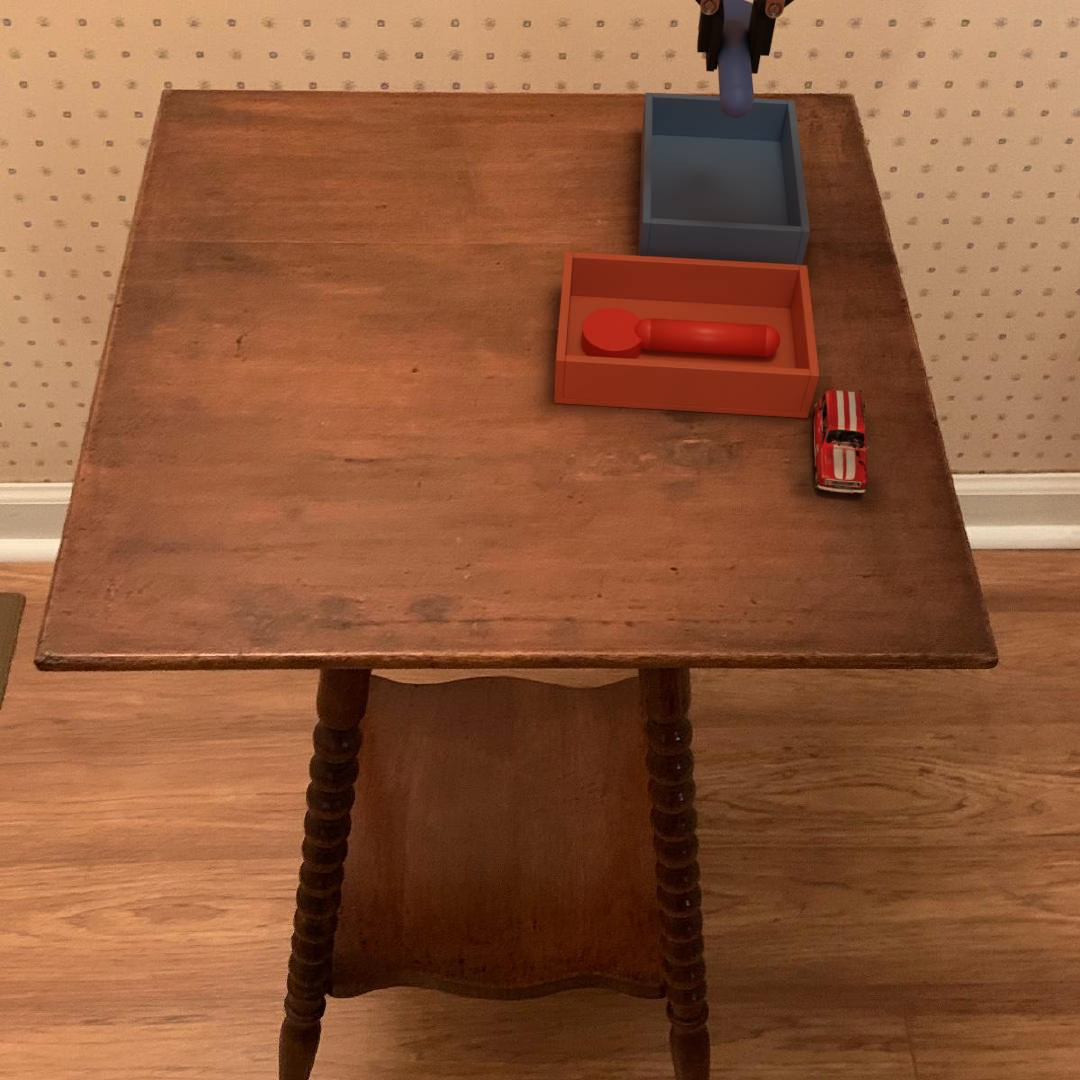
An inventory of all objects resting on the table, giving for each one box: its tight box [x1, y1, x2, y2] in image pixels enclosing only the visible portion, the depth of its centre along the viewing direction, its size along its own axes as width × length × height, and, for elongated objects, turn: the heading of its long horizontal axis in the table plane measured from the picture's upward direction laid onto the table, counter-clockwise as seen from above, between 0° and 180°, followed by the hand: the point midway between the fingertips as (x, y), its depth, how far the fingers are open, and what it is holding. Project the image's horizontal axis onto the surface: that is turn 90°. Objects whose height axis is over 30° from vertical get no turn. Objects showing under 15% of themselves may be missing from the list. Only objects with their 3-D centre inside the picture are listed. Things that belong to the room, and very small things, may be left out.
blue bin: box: [638, 92, 811, 265], centre depth 94 cm, size 12×17×4 cm
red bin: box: [553, 251, 820, 419], centre depth 83 cm, size 17×11×4 cm, turn 86°
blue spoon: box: [697, 0, 755, 118], centre depth 81 cm, size 14×4×2 cm, turn 176°
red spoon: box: [581, 308, 780, 359], centre depth 83 cm, size 14×4×2 cm, turn 86°
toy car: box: [812, 389, 872, 494], centre depth 77 cm, size 4×8×3 cm, turn 173°
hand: (731, 60), depth 82 cm, fingers closed on blue spoon, 2 cm apart
